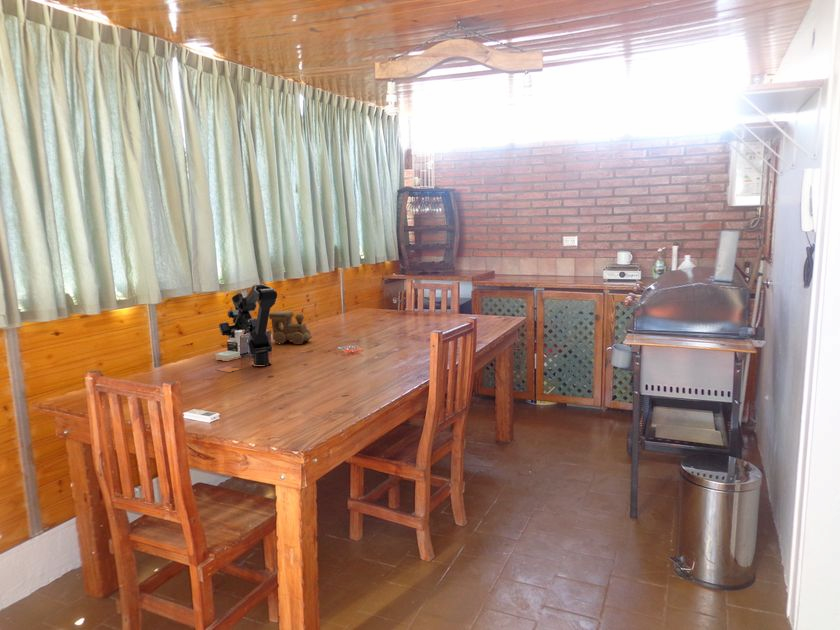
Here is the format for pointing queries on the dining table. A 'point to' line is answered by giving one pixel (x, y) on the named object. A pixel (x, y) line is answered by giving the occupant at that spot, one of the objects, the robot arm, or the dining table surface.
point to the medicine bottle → (234, 341)
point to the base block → (227, 354)
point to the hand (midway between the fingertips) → (236, 336)
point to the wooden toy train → (288, 327)
